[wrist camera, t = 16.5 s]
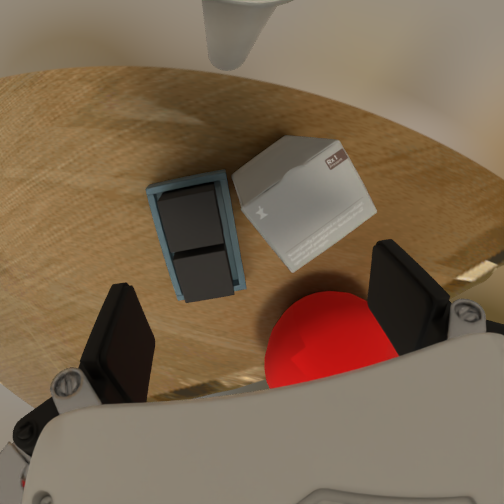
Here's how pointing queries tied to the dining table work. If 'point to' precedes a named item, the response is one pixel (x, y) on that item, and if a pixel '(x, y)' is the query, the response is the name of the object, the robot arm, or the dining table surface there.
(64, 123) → the dining table surface
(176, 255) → the seated pad
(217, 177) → the tray
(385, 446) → the robot arm
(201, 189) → the loose pad
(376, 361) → the vase
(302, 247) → the cosmetic box
